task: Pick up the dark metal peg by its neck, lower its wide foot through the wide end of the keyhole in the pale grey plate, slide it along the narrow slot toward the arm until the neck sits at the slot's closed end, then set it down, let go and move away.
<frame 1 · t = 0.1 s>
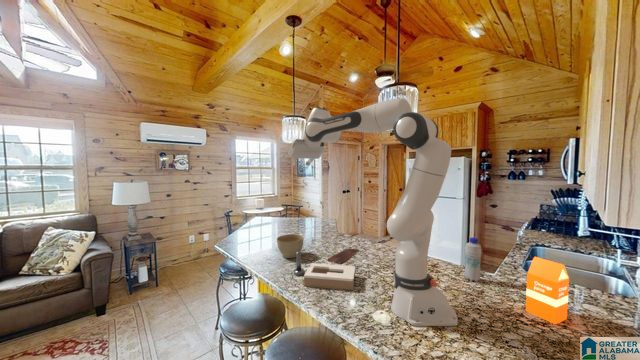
hand: (301, 165, 126), 54 cm above the counter, tool tilted 30°, fingers open, 8 cm apart
bottle: (472, 280, 117), on the counter
wooden tablet: (344, 256, 151), on the counter
keyhole plate: (330, 280, 118), on the counter
orange juice: (545, 315, 90), on the counter
planter bowl: (290, 255, 151), on the counter
peg: (298, 273, 126), on the counter
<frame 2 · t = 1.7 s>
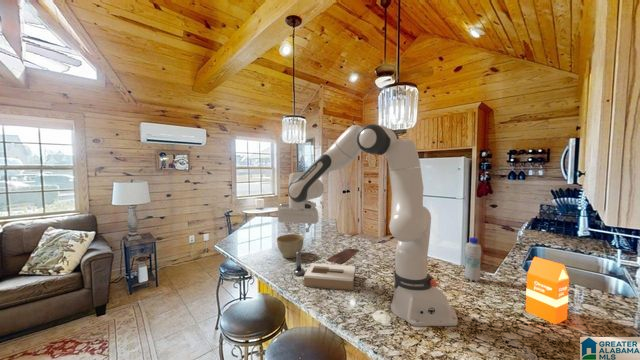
hand: (298, 231, 125), 21 cm above the counter, tool pointing down, fingers open, 8 cm apart
nothing on the counter moved.
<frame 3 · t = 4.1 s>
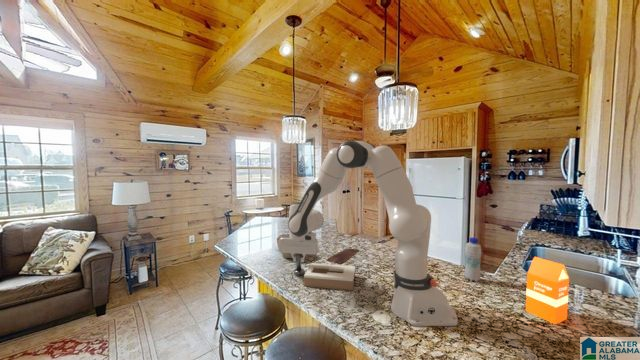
hand: (298, 261, 126), 6 cm above the counter, tool pointing down, fingers closed on peg, 2 cm apart
peg: (298, 273, 126), on the counter, touching gripper
everything else where it was.
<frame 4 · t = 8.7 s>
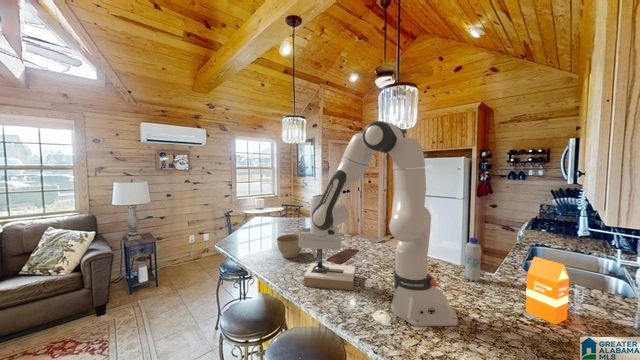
hand: (319, 257, 118), 11 cm above the counter, tool pointing down, fingers closed on peg, 2 cm apart
peg: (319, 270, 119), point 5 cm above the counter, touching gripper
everything else where it was.
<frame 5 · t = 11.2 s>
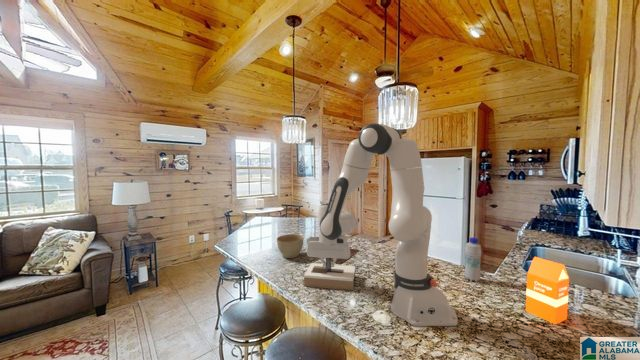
hand: (328, 266, 117), 7 cm above the counter, tool pointing down, fingers closed on peg, 2 cm apart
peg: (328, 279, 118), point 1 cm above the counter, touching gripper
everything else where it was.
when the fingers open (7 cm above the counter, at t = 13.6 s): peg stays where it is, on the counter.
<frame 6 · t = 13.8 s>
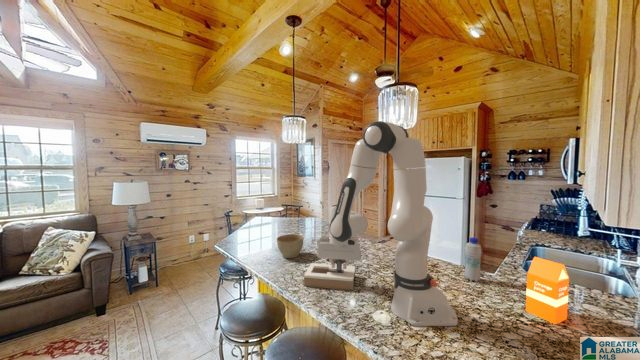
hand: (339, 268, 117), 6 cm above the counter, tool pointing down, fingers open, 4 cm apart
peg: (339, 281, 117), on the counter
everything else where it was.
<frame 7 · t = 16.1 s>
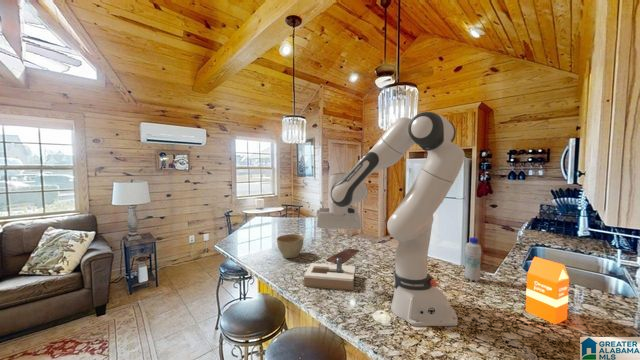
hand: (339, 238, 116), 21 cm above the counter, tool pointing down, fingers open, 8 cm apart
nothing on the counter moved.
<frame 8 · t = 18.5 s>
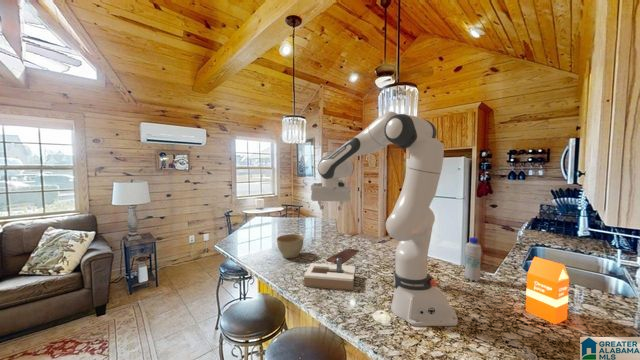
hand: (330, 209, 130), 31 cm above the counter, tool pointing down, fingers open, 8 cm apart
nothing on the counter moved.
at the end: peg 0.2 cm from the target spot on the keyhole plate, point 0.0 cm above the keyhole plate's base; the gripper is holding nothing; peg tilted 0° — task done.
